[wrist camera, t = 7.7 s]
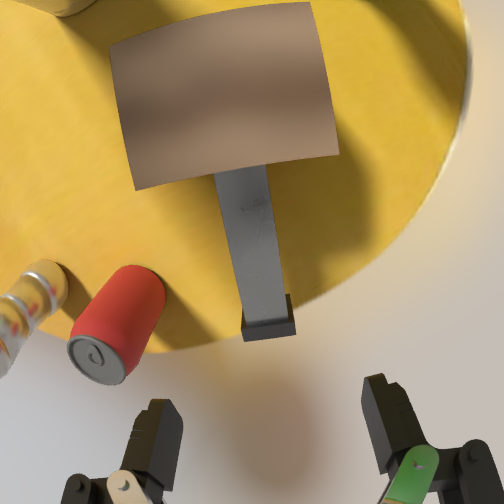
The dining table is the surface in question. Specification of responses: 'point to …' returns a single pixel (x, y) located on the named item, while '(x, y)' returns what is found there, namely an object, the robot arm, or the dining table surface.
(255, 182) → the shaft
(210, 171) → the brown wooden block
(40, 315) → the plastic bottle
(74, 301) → the dining table surface
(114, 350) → the beer can
